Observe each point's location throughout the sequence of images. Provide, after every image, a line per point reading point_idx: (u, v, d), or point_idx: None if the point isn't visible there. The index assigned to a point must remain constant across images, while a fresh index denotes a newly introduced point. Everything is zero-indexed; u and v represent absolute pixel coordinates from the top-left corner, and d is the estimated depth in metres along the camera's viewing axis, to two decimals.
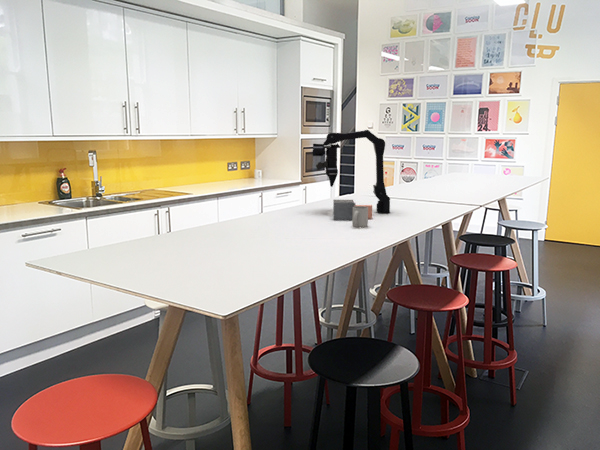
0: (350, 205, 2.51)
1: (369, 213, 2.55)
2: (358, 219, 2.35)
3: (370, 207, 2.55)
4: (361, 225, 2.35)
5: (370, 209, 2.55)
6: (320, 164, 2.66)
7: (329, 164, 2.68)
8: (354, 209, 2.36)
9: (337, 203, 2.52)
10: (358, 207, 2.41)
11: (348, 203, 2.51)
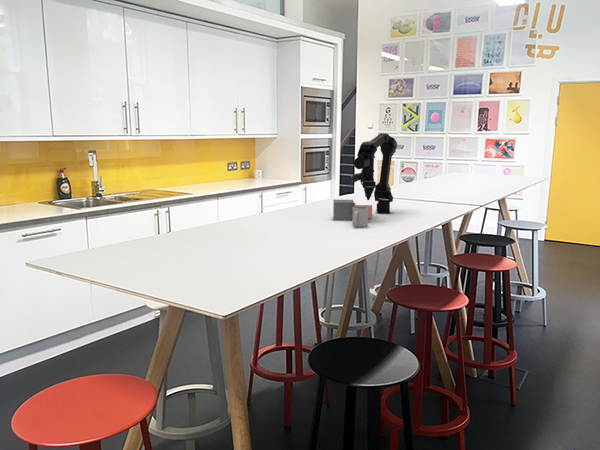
0: (350, 205, 2.51)
1: (369, 213, 2.55)
2: (358, 219, 2.35)
3: (370, 207, 2.55)
4: (361, 225, 2.35)
5: (370, 209, 2.55)
6: (356, 176, 2.49)
7: (365, 176, 2.50)
8: (354, 209, 2.36)
9: (337, 203, 2.52)
10: (358, 207, 2.41)
11: (348, 203, 2.51)
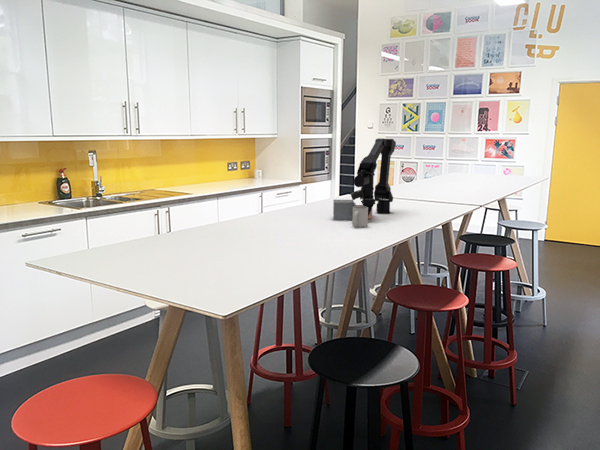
0: (350, 205, 2.51)
1: None
2: (358, 219, 2.35)
3: None
4: (361, 225, 2.35)
5: None
6: (356, 194, 2.51)
7: (365, 193, 2.52)
8: (354, 209, 2.36)
9: (337, 203, 2.52)
10: (358, 207, 2.41)
11: (348, 203, 2.51)
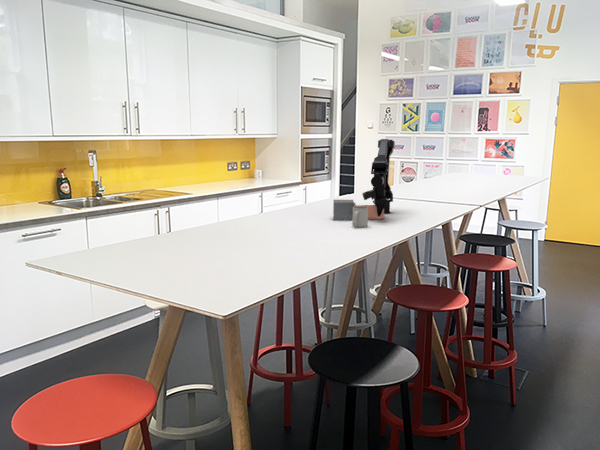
0: (350, 205, 2.51)
1: (381, 213, 2.55)
2: (358, 219, 2.35)
3: None
4: (361, 225, 2.35)
5: None
6: (368, 194, 2.50)
7: (377, 193, 2.52)
8: (354, 209, 2.36)
9: (337, 203, 2.52)
10: (358, 207, 2.41)
11: (348, 203, 2.51)
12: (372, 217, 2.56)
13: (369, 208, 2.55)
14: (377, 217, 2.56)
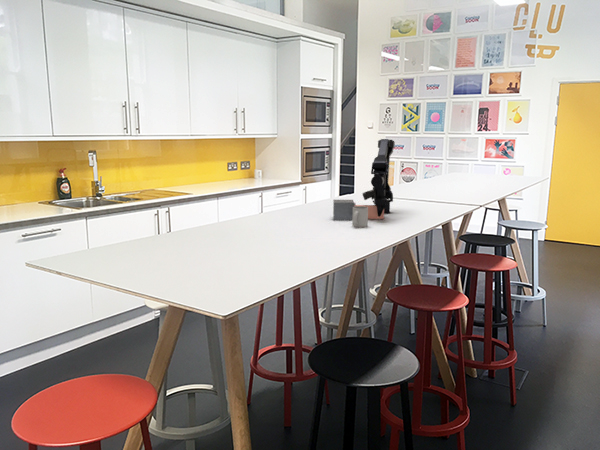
0: (350, 205, 2.51)
1: None
2: (358, 219, 2.35)
3: None
4: (361, 225, 2.35)
5: None
6: (368, 194, 2.50)
7: (377, 193, 2.52)
8: (354, 209, 2.36)
9: (337, 203, 2.52)
10: (358, 207, 2.41)
11: (348, 203, 2.51)
12: (372, 217, 2.56)
13: (369, 208, 2.55)
14: (377, 217, 2.56)
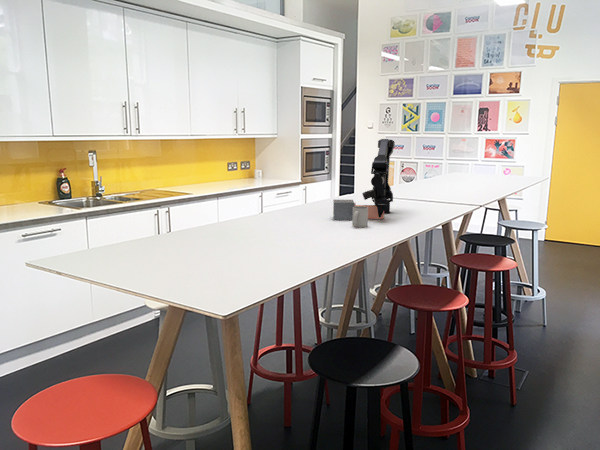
0: (350, 205, 2.51)
1: None
2: (358, 219, 2.35)
3: None
4: (361, 225, 2.35)
5: None
6: (368, 193, 2.50)
7: (377, 193, 2.52)
8: (354, 209, 2.36)
9: (337, 203, 2.52)
10: (358, 207, 2.41)
11: (348, 203, 2.51)
12: (372, 217, 2.56)
13: (369, 208, 2.55)
14: (377, 217, 2.56)
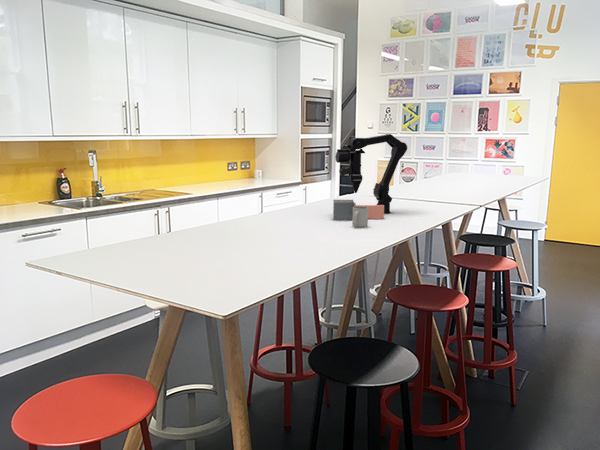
0: (350, 205, 2.51)
1: (381, 213, 2.55)
2: (358, 219, 2.35)
3: (382, 207, 2.55)
4: (361, 225, 2.35)
5: (382, 209, 2.55)
6: (344, 170, 2.61)
7: (353, 170, 2.63)
8: (354, 209, 2.36)
9: (337, 203, 2.52)
10: (358, 207, 2.41)
11: (348, 203, 2.51)
12: (372, 217, 2.56)
13: (369, 208, 2.55)
14: (377, 217, 2.56)
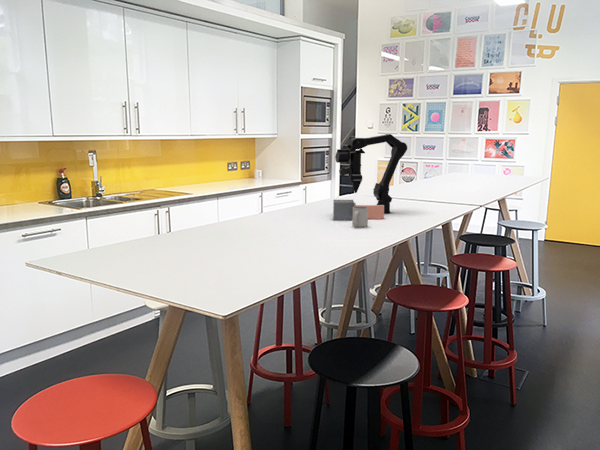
0: (350, 205, 2.51)
1: (381, 213, 2.55)
2: (358, 219, 2.35)
3: (382, 207, 2.55)
4: (361, 225, 2.35)
5: (382, 209, 2.55)
6: (344, 170, 2.62)
7: (353, 170, 2.63)
8: (354, 209, 2.36)
9: (337, 203, 2.52)
10: (358, 207, 2.41)
11: (348, 203, 2.51)
12: (372, 217, 2.56)
13: (369, 208, 2.55)
14: (377, 217, 2.56)
